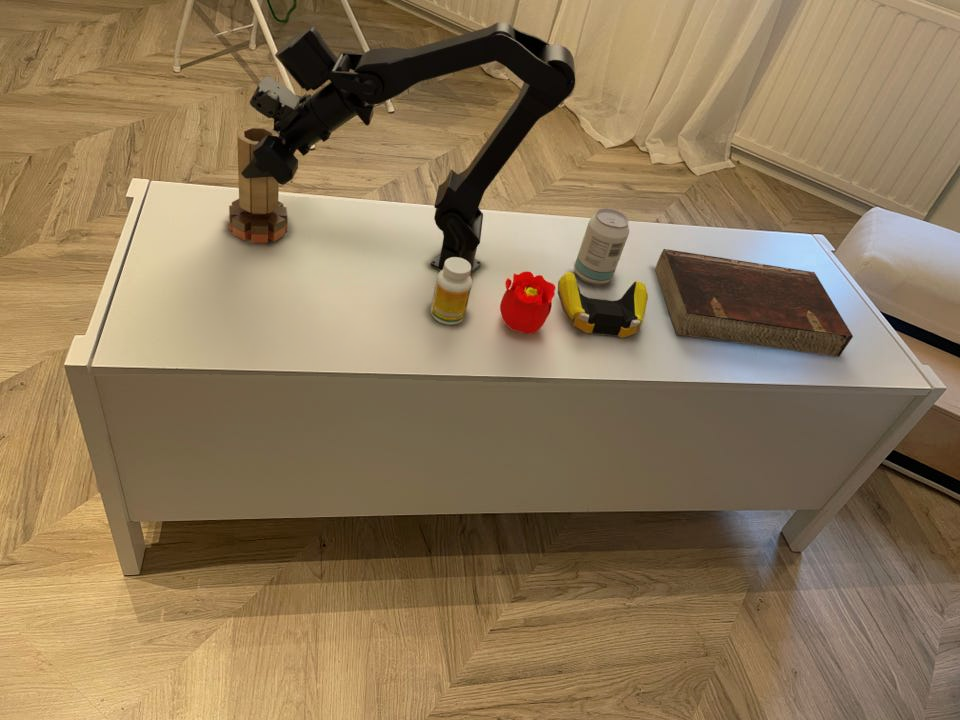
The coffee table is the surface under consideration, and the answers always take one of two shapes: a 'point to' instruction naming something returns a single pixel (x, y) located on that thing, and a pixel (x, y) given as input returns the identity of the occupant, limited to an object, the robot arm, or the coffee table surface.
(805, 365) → the coffee table surface
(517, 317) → the flower
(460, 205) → the robot arm
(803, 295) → the book
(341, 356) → the coffee table surface
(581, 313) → the gaming controller
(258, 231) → the ring stack
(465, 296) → the supplement bottle
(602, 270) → the beverage can
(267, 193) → the tall ring
